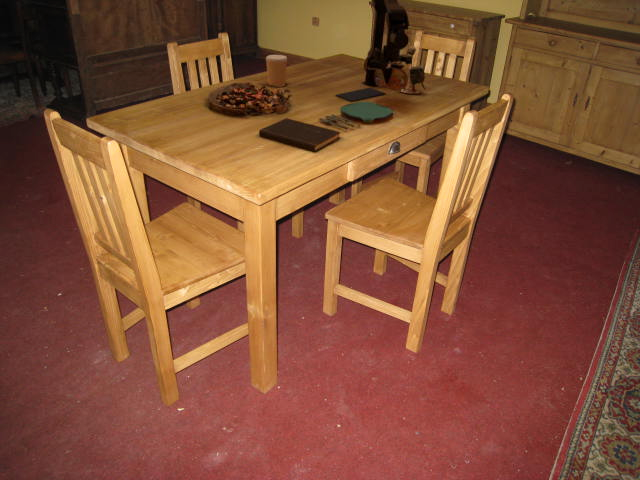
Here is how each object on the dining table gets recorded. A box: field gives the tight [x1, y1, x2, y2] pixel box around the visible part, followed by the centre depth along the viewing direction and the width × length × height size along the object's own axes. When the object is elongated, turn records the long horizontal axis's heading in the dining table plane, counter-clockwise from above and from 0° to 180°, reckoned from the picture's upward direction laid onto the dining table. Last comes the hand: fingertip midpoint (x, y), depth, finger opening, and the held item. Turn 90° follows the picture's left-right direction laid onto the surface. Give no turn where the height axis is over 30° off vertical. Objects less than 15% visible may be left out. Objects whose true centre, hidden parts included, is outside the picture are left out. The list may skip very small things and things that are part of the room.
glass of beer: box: [265, 54, 288, 88], centre depth 229 cm, size 9×9×12 cm
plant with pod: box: [399, 45, 426, 95], centre depth 223 cm, size 8×11×20 cm
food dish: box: [206, 82, 293, 117], centre depth 205 cm, size 35×33×8 cm
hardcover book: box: [258, 117, 341, 152], centre depth 177 cm, size 16×23×2 cm
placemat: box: [335, 87, 386, 103], centre depth 223 cm, size 20×10×1 cm, turn 130°
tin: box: [374, 67, 409, 92], centre depth 209 cm, size 15×3×8 cm, turn 51°
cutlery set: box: [318, 101, 394, 131], centre depth 196 cm, size 20×30×2 cm, turn 134°
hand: (389, 83), depth 211 cm, fingers closed on tin, 3 cm apart
